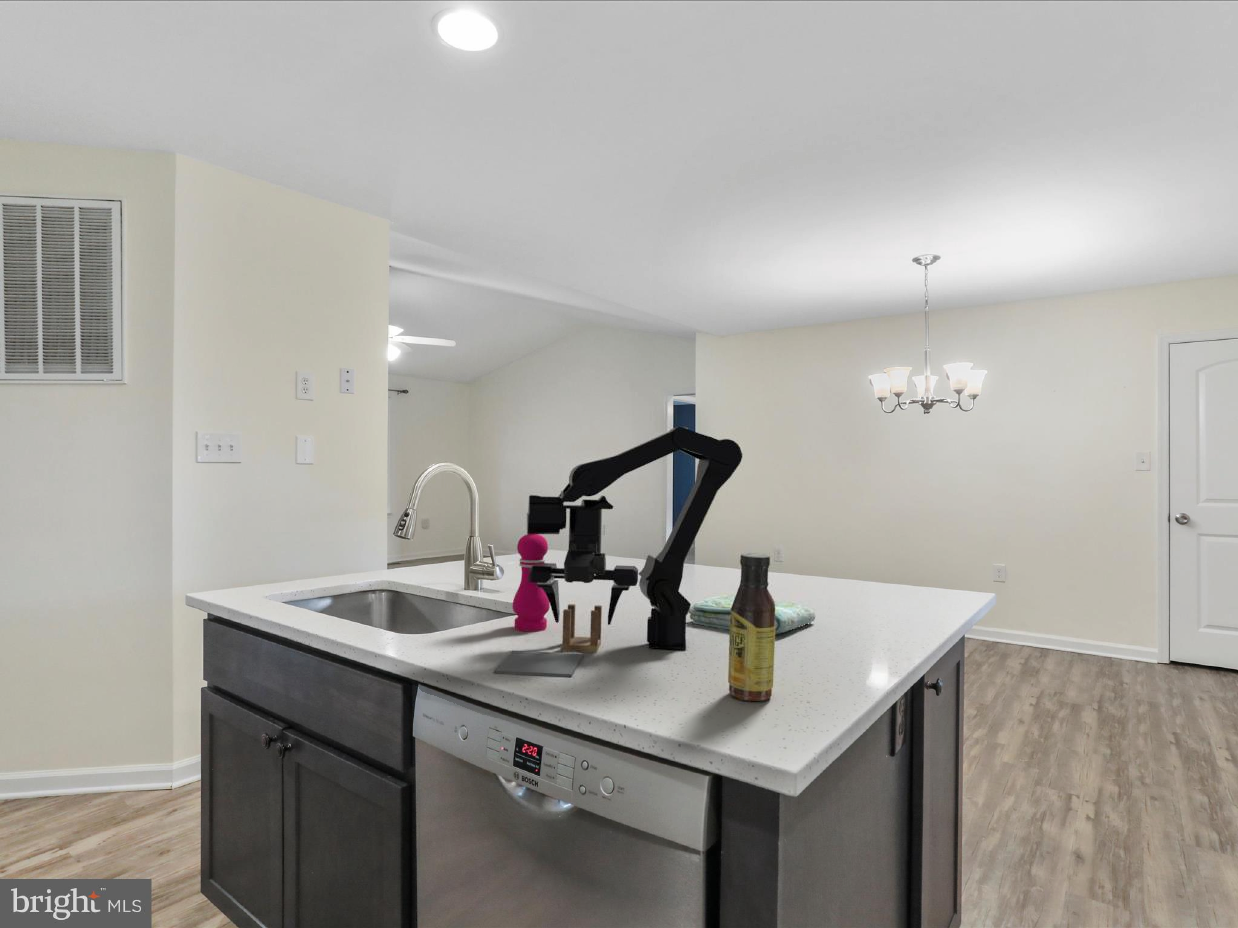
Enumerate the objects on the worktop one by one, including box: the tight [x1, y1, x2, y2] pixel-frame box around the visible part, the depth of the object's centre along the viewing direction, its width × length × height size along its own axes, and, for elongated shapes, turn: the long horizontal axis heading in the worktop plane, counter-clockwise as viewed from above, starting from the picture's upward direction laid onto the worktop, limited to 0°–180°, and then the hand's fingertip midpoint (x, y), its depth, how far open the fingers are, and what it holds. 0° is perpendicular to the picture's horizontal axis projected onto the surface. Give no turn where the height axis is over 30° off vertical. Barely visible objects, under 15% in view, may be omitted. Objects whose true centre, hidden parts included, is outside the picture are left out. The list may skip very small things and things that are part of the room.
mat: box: [493, 650, 584, 678], centre depth 111 cm, size 12×12×1 cm
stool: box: [561, 603, 603, 653], centre depth 122 cm, size 6×6×7 cm
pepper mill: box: [512, 533, 551, 632], centre depth 137 cm, size 7×7×20 cm
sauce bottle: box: [727, 552, 776, 702], centre depth 97 cm, size 6×6×20 cm
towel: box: [688, 594, 816, 635], centre depth 146 cm, size 18×21×5 cm
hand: (583, 623), depth 123 cm, fingers open, 9 cm apart
